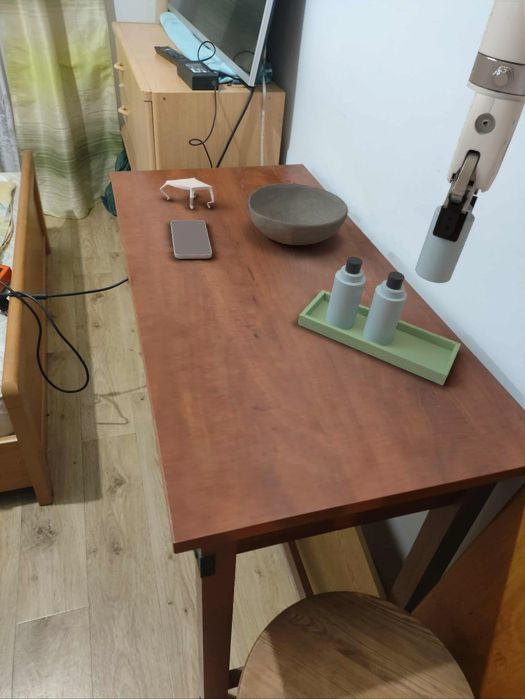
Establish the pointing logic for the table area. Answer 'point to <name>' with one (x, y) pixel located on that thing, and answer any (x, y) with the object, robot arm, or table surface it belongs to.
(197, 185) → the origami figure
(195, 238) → the smartphone
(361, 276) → the row bottle back
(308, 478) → the table surface
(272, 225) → the bowl
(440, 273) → the loose bottle
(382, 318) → the row bottle middle
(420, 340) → the tray
